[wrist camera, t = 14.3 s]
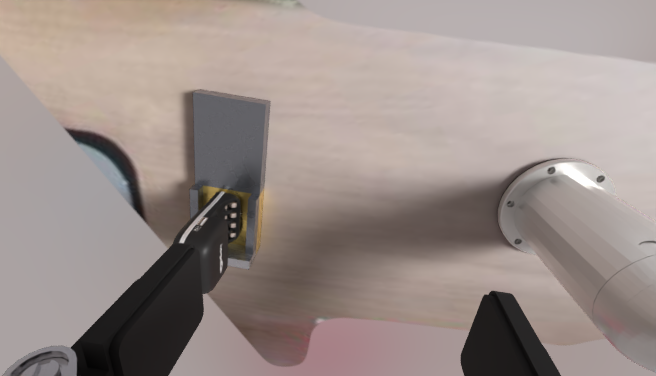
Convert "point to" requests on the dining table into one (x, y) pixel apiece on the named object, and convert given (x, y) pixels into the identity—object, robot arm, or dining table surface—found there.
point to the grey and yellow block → (231, 162)
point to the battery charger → (213, 235)
